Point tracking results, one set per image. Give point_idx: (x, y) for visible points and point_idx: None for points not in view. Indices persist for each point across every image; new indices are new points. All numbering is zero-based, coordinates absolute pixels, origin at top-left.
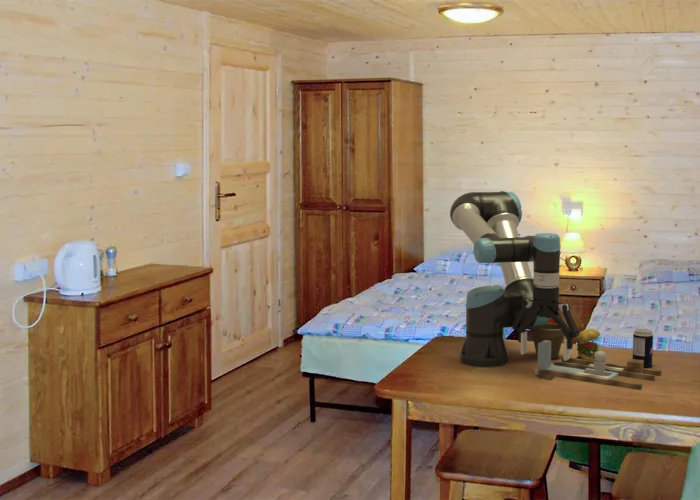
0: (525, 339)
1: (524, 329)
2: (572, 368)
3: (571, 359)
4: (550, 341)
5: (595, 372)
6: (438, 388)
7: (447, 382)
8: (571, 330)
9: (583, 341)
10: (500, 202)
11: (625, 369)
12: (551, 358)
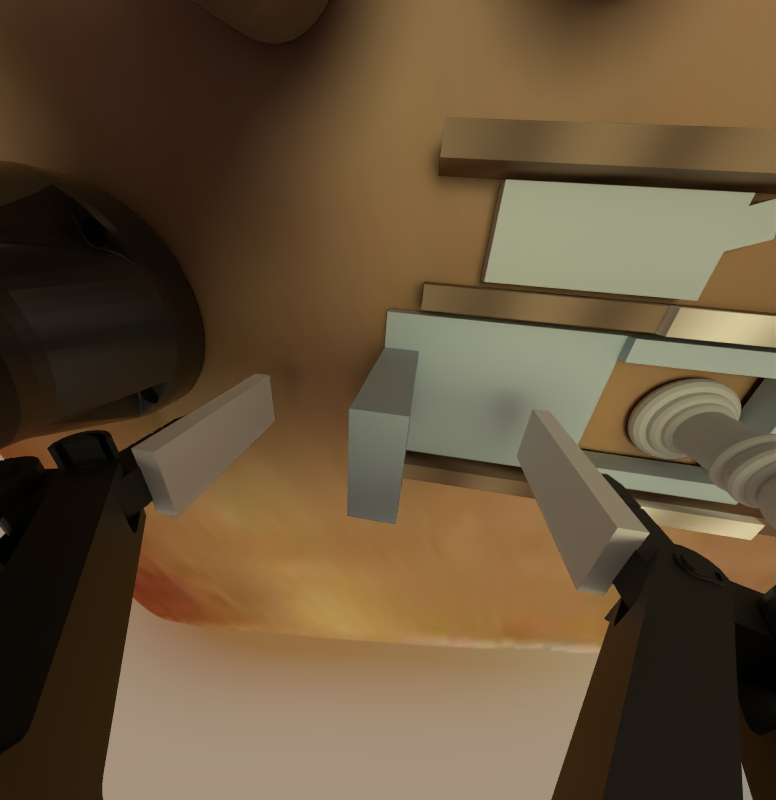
0: (213, 440)
1: (119, 482)
2: (539, 340)
3: (519, 163)
4: (407, 432)
5: (689, 456)
6: (236, 600)
7: (217, 565)
8: (756, 746)
9: None
10: None
11: None
12: (324, 6)
